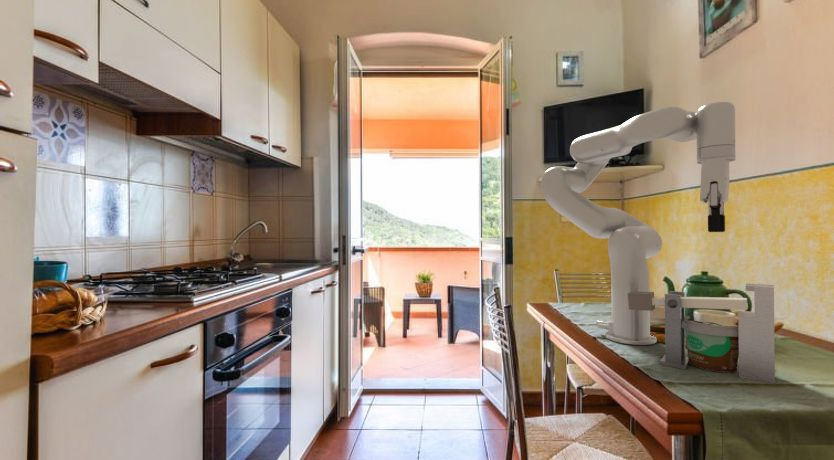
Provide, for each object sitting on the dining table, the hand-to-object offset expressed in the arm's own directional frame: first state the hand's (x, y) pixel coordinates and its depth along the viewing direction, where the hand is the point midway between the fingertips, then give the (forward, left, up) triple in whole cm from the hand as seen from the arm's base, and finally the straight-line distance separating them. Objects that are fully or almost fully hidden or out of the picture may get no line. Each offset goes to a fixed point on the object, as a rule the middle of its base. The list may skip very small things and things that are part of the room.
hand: (716, 231), depth 98 cm
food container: (-1, -11, -30) cm, 32 cm away
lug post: (+8, -11, -30) cm, 33 cm away
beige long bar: (-5, -11, -18) cm, 22 cm away
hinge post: (-7, -11, -30) cm, 33 cm away
